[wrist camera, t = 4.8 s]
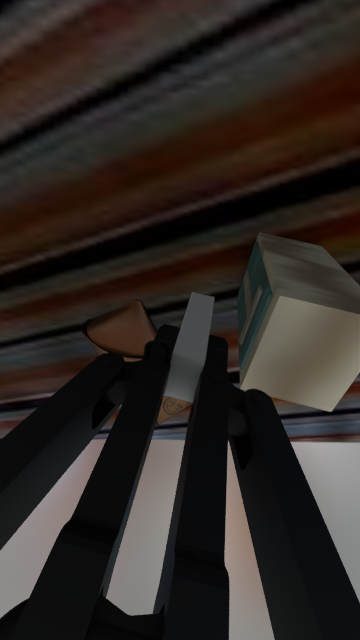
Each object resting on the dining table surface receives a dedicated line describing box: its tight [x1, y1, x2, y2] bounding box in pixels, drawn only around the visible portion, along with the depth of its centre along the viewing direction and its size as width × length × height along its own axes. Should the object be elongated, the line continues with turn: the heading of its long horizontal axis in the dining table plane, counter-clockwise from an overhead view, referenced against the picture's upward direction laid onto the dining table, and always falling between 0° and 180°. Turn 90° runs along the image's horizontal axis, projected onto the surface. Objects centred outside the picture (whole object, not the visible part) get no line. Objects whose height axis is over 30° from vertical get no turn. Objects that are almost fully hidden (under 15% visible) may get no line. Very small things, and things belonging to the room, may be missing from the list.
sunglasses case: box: [81, 300, 192, 427], centre depth 36 cm, size 18×7×7 cm
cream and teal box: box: [238, 232, 360, 412], centre depth 22 cm, size 6×7×14 cm
